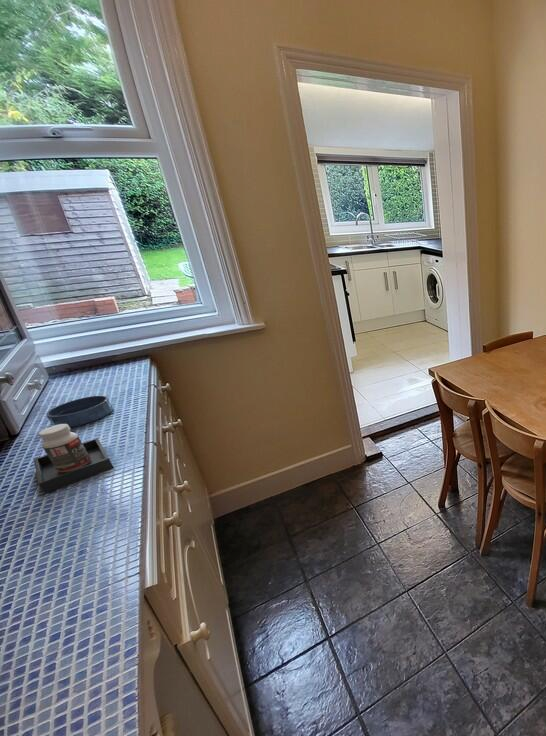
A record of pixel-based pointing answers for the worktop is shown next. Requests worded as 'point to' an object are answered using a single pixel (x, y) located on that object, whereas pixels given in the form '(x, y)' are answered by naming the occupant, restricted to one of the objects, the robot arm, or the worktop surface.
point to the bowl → (80, 411)
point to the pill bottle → (64, 448)
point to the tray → (55, 480)
